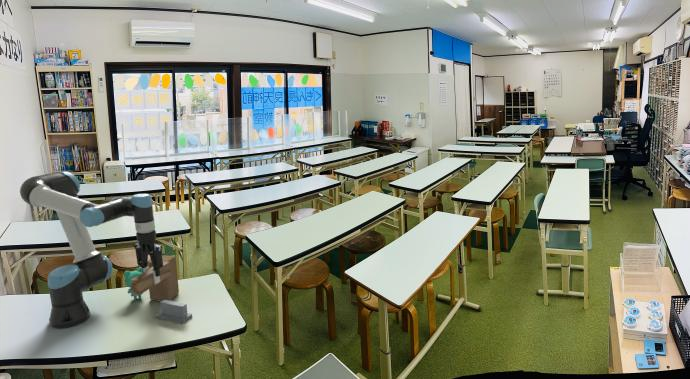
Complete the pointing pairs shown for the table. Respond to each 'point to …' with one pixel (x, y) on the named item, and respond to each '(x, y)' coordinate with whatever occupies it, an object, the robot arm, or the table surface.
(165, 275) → the beam
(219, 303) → the table surface
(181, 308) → the ridge stand
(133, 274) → the toy
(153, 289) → the wooden block
